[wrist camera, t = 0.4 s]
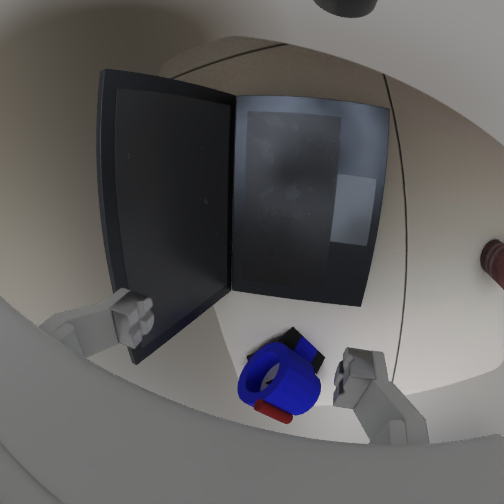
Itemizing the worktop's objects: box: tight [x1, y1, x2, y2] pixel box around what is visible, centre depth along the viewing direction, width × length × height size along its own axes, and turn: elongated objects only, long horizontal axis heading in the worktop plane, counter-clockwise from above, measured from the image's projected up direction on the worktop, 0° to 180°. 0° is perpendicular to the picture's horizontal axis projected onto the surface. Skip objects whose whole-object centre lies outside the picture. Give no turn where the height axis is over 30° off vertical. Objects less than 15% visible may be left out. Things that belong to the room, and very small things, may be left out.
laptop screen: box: [96, 69, 236, 365], centre depth 30 cm, size 21×30×1 cm
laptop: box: [232, 95, 390, 307], centre depth 37 cm, size 21×30×2 cm
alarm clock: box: [238, 327, 325, 424], centre depth 43 cm, size 12×12×15 cm
